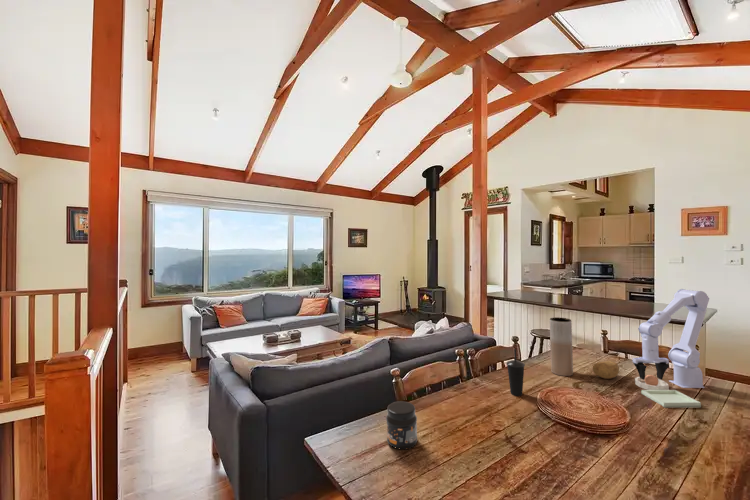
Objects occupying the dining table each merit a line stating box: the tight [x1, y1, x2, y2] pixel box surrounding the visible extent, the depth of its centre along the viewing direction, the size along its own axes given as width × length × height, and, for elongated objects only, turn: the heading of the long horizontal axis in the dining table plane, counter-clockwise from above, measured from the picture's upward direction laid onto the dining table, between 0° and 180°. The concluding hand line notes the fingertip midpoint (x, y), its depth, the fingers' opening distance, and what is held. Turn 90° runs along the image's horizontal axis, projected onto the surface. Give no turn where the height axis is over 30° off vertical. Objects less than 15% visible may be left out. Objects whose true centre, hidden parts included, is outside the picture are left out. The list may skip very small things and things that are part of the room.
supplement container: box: [385, 400, 418, 450], centre depth 114 cm, size 10×10×12 cm
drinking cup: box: [506, 348, 526, 397], centre depth 148 cm, size 8×8×20 cm
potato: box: [592, 360, 620, 380], centre depth 163 cm, size 10×14×8 cm
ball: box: [644, 374, 659, 386], centre depth 151 cm, size 5×5×5 cm
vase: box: [549, 316, 574, 377], centre depth 171 cm, size 10×10×28 cm
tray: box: [641, 389, 702, 409], centre depth 138 cm, size 14×12×2 cm
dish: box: [634, 376, 670, 390], centre depth 151 cm, size 12×12×2 cm
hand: (651, 378), depth 151 cm, fingers open, 7 cm apart
